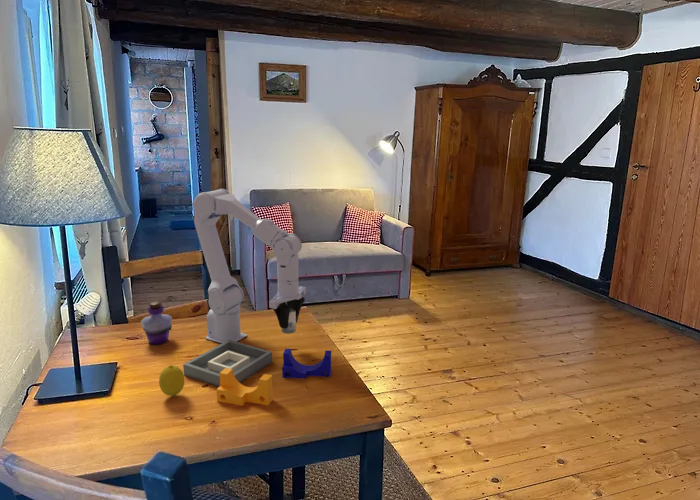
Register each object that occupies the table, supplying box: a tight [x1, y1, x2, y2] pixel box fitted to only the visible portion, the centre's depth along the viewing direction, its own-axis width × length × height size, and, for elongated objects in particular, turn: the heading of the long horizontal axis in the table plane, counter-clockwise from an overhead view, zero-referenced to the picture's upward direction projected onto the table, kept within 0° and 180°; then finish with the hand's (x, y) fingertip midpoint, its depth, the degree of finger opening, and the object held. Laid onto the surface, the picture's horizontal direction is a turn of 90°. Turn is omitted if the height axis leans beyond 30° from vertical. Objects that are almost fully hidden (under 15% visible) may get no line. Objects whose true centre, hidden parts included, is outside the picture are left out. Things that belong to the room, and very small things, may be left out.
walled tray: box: [182, 340, 273, 388], centre depth 130 cm, size 15×17×3 cm
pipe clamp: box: [216, 368, 274, 407], centre depth 115 cm, size 12×4×6 cm, turn 75°
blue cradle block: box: [281, 348, 332, 379], centre depth 128 cm, size 12×4×6 cm, turn 86°
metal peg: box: [281, 308, 297, 335], centre depth 140 cm, size 4×4×6 cm
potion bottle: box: [140, 300, 173, 346], centre depth 144 cm, size 9×9×12 cm
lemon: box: [159, 364, 185, 398], centre depth 116 cm, size 6×6×8 cm
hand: (288, 324), depth 140 cm, fingers closed on metal peg, 4 cm apart
